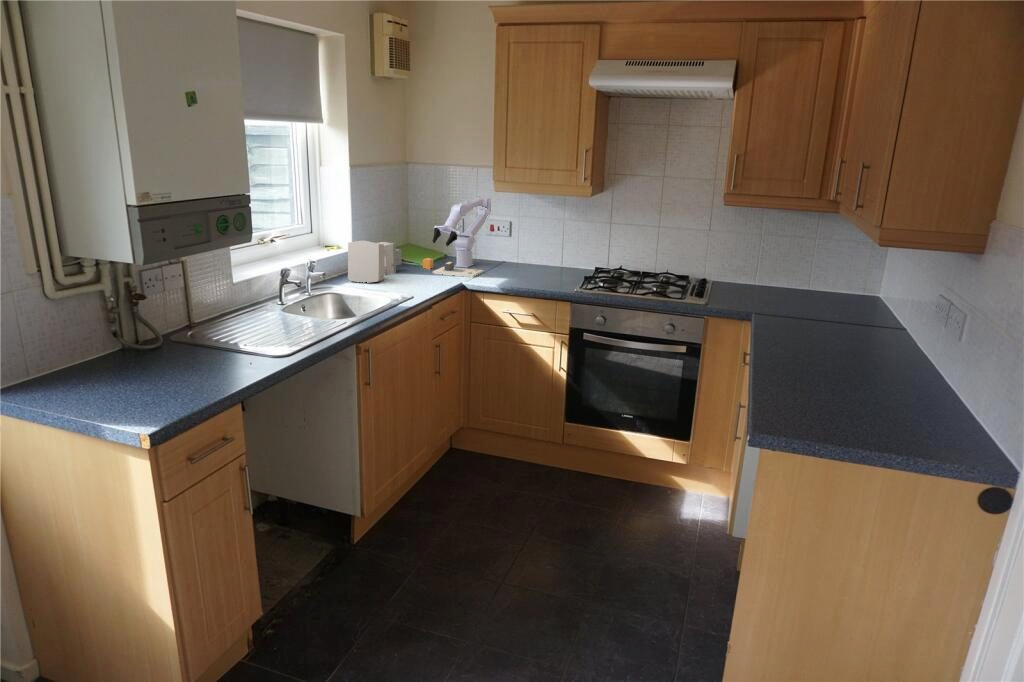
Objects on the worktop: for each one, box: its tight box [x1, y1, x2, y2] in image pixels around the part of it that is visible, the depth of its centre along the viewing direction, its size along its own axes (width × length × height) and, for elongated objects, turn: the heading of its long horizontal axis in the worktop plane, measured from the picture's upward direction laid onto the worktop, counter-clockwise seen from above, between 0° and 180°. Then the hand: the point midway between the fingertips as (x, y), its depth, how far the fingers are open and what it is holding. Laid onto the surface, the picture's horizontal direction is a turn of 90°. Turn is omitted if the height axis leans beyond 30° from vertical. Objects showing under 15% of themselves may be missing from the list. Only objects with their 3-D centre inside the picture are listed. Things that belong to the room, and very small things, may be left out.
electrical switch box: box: [347, 239, 385, 284], centre depth 325 cm, size 15×15×20 cm
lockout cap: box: [422, 257, 434, 270], centre depth 356 cm, size 4×4×5 cm
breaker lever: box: [444, 261, 455, 270], centre depth 348 cm, size 5×3×3 cm, turn 161°
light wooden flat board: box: [432, 265, 484, 278], centre depth 347 cm, size 14×22×2 cm, turn 70°
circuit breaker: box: [379, 241, 403, 276], centre depth 342 cm, size 8×14×15 cm, turn 148°
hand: (440, 243), depth 343 cm, fingers open, 7 cm apart
